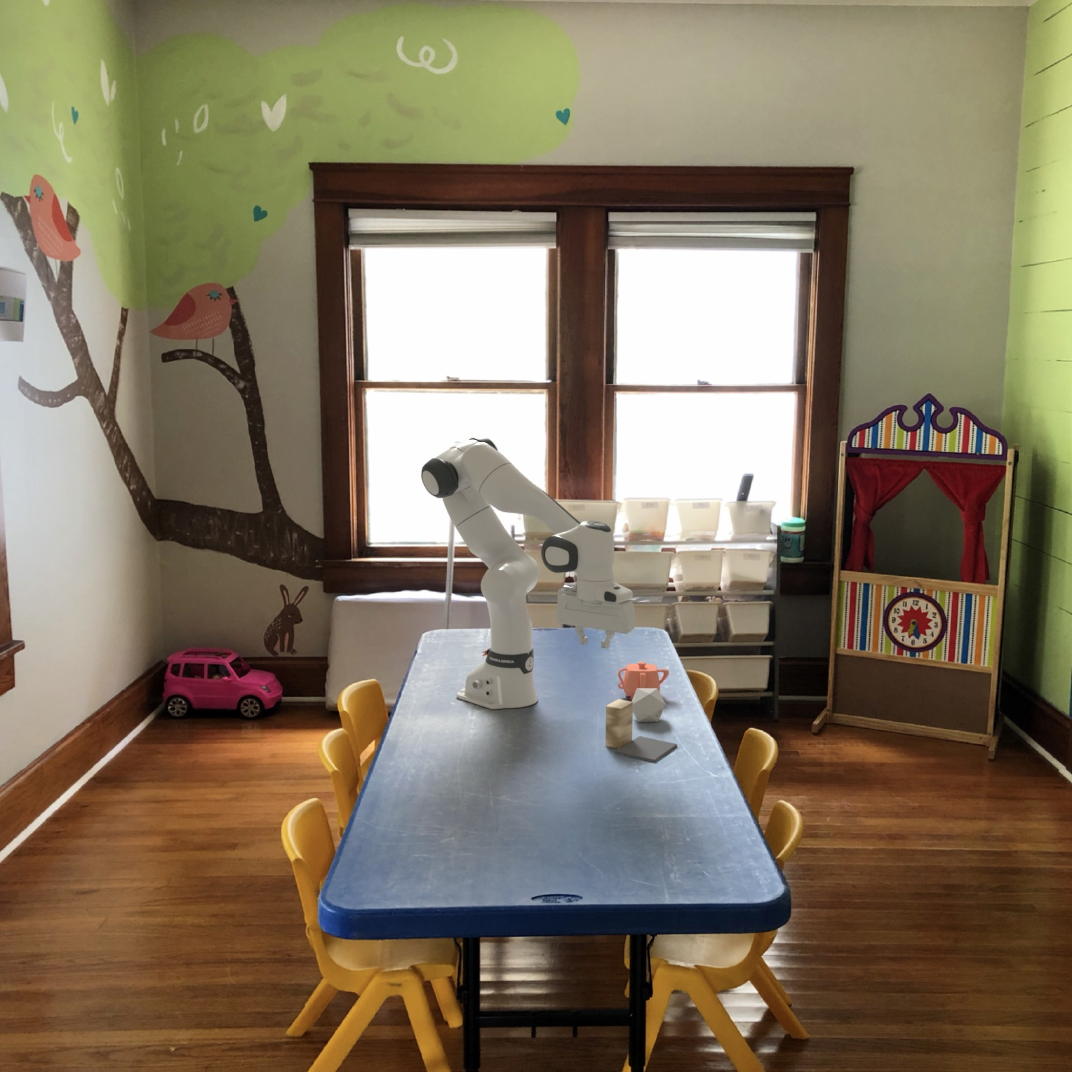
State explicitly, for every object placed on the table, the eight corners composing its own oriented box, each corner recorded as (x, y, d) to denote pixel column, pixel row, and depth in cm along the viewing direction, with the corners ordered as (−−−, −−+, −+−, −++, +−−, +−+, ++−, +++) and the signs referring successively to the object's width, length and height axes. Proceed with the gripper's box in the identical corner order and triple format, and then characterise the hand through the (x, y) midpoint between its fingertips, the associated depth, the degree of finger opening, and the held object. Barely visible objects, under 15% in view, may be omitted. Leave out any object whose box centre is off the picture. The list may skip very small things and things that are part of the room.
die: (655, 731, 263) (675, 696, 265) (624, 712, 264) (644, 677, 265) (650, 731, 271) (670, 698, 273) (621, 713, 272) (640, 680, 274)
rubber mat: (616, 753, 246) (616, 751, 246) (639, 738, 256) (639, 735, 256) (654, 762, 240) (654, 759, 240) (677, 746, 250) (677, 744, 250)
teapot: (639, 687, 296) (640, 654, 295) (671, 697, 287) (671, 663, 286) (610, 695, 289) (610, 661, 287) (641, 706, 280) (642, 670, 278)
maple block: (605, 745, 251) (606, 705, 249) (617, 738, 256) (618, 699, 254) (620, 749, 249) (620, 708, 247) (632, 741, 254) (632, 701, 252)
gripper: (551, 586, 253) (550, 642, 255) (626, 597, 242) (625, 655, 244) (564, 582, 258) (564, 637, 260) (639, 592, 247) (637, 649, 249)
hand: (594, 646), depth 252 cm, fingers open, 5 cm apart
